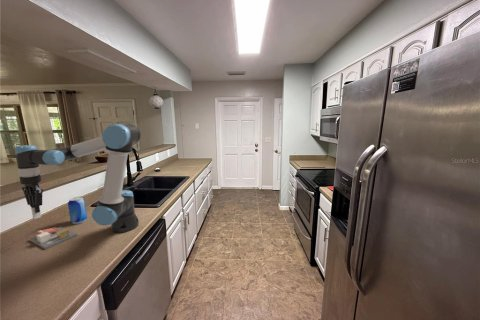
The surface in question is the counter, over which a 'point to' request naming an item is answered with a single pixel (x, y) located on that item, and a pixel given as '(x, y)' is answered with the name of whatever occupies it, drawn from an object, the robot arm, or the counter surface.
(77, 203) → the beer can
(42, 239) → the ivory slider
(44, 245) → the panel
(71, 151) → the robot arm
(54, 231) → the block
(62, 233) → the brass slider
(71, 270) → the counter surface
